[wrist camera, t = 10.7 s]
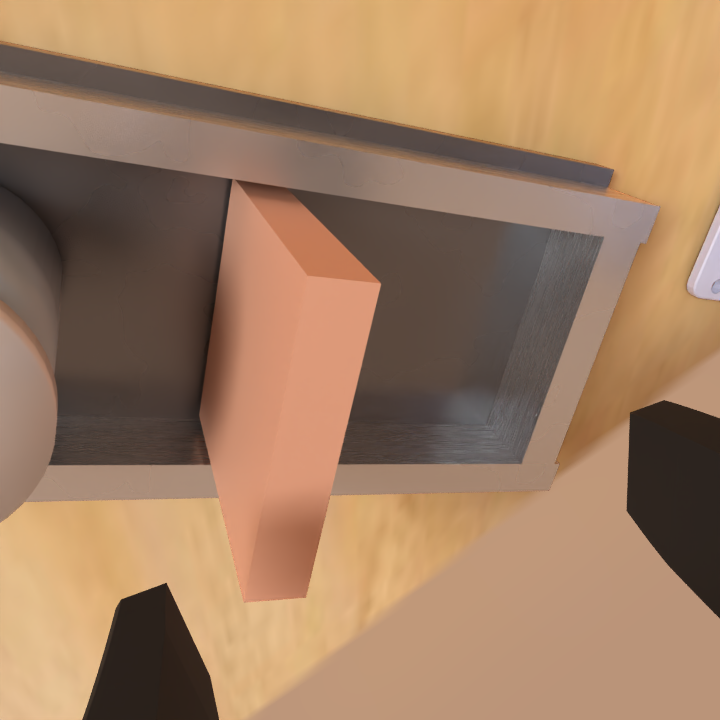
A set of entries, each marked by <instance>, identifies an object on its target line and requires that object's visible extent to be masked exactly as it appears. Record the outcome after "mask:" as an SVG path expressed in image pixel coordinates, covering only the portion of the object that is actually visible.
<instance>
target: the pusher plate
mask: <svg viewBox="0 0 720 720" xmlns="http://www.w3.org/2000/svg"><path fill="white" fill-rule="evenodd" d="M380 287H381V283H380V282H379V281H378V280H377V279H376V278H375V277H374V276H373V275H372V274H371V273H370V272H369V271H368V270H367V269H366V268H365V267H364V266H363V265H362V264H361V263H360V262H359V261H358V260H357V259H356V258H355V257H354V256H353V255H352V254H351V253H350V252H349V251H348V249H347V248H346V247H345V246H344V245H343V244H342V243H341V242H340V241H339V240H338V239H337V238H336V237H335V236H334V235H333V234H332V233H331V232H330V231H329V230H328V229H327V228H326V227H325V226H324V225H323V224H322V223H321V222H320V221H319V220H318V219H317V218H316V217H315V216H314V215H313V214H312V213H311V212H310V211H309V210H308V209H307V208H306V207H305V206H304V205H303V204H302V203H301V202H300V201H299V200H298V199H297V198H296V197H295V196H294V195H293V194H292V193H291V192H290V191H289V190H288V189H287V188H286V187H280V186H274V185H267V184H261V183H254V182H248V181H242V180H235V179H232V186H231V193H230V200H229V207H228V214H227V221H226V228H225V235H224V243H223V250H222V257H221V264H220V271H219V278H218V285H217V292H216V299H215V306H214V313H213V320H212V327H211V335H210V342H209V349H208V356H207V363H206V370H205V377H204V384H203V391H202V398H201V405H200V412H199V417H200V421H201V425H202V429H203V434H204V438H205V442H206V446H207V450H208V455H209V459H210V463H211V467H212V471H213V475H214V480H215V484H216V488H217V492H218V496H219V501H220V505H221V509H222V513H223V517H224V522H225V526H226V530H227V534H228V538H229V542H230V547H231V551H232V555H233V559H234V563H235V568H236V572H237V576H238V580H239V584H240V589H241V593H242V597H243V601H244V602H256V601H269V600H281V599H293V598H306V594H307V590H308V586H309V582H310V578H311V574H312V569H313V565H314V561H315V557H316V553H317V549H318V545H319V540H320V536H321V532H322V528H323V524H324V520H325V515H326V511H327V507H328V503H329V499H330V495H331V490H332V486H333V482H334V478H335V474H336V470H337V465H338V461H339V457H340V453H341V449H342V445H343V441H344V436H345V432H346V428H347V424H348V420H349V416H350V411H351V407H352V403H353V399H354V395H355V391H356V386H357V382H358V378H359V374H360V370H361V366H362V361H363V357H364V353H365V349H366V345H367V341H368V337H369V332H370V328H371V324H372V320H373V316H374V312H375V307H376V303H377V299H378V295H379V291H380Z"/></svg>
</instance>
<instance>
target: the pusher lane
mask: <svg viewBox="0 0 720 720" xmlns="http://www.w3.org/2000/svg"><path fill="white" fill-rule="evenodd" d="M613 171H614V170H613V169H610V168H607V167H604V166H601V165H598V164H594V163H589V162H584V161H579V160H575V159H570V158H565V157H560V156H555V155H550V154H546V153H541V152H536V151H531V150H526V149H521V148H516V147H512V146H507V145H502V144H497V143H492V142H487V141H483V140H478V139H473V138H468V137H463V136H458V135H454V134H449V133H444V132H439V131H434V130H429V129H424V128H420V127H415V126H410V125H405V124H400V123H395V122H391V121H386V120H381V119H376V118H371V117H366V116H361V115H357V114H352V113H347V112H342V111H337V110H332V109H328V108H323V107H318V106H313V105H308V104H303V103H299V102H294V101H289V100H284V99H279V98H274V97H269V96H265V95H260V94H255V93H250V92H245V91H240V90H236V89H231V88H226V87H221V86H216V85H211V84H206V83H202V82H197V81H192V80H187V79H182V78H177V77H173V76H168V75H163V74H158V73H153V72H148V71H144V70H139V69H134V68H129V67H124V66H119V65H114V64H110V63H105V62H100V61H95V60H90V59H85V58H81V57H76V56H71V55H66V54H61V53H56V52H51V51H47V50H42V49H37V48H32V47H27V46H22V45H18V44H13V43H8V42H3V41H0V186H2V187H4V188H6V189H7V190H9V191H10V192H12V193H13V194H14V195H16V196H17V197H19V198H20V199H21V200H22V201H23V202H25V203H26V204H27V205H28V206H29V207H30V208H31V209H32V210H33V211H34V212H35V213H36V214H37V215H38V216H39V217H40V219H41V220H42V221H43V223H44V224H45V226H46V227H47V228H48V230H49V231H50V233H51V235H52V237H53V239H54V241H55V243H56V245H57V248H58V251H59V254H60V257H61V262H62V267H63V290H62V301H61V311H60V321H59V332H58V342H57V352H56V363H55V373H54V377H55V381H56V385H57V395H58V412H57V424H56V435H55V445H54V448H53V452H52V456H51V459H50V462H49V464H48V467H47V469H46V471H45V473H44V475H43V477H42V479H41V480H40V482H39V484H38V485H37V487H36V488H35V490H34V491H33V492H32V494H31V495H30V496H29V497H28V498H27V499H26V500H25V502H42V501H89V500H136V499H183V498H219V496H218V492H217V488H216V484H215V480H214V475H213V471H212V467H211V463H210V459H209V455H208V450H207V446H206V442H205V438H204V434H203V429H202V425H201V421H200V417H199V412H200V405H201V398H202V391H203V384H204V377H205V370H206V363H207V356H208V349H209V342H210V335H211V327H212V320H213V313H214V306H215V299H216V292H217V285H218V278H219V271H220V264H221V257H222V250H223V243H224V235H225V228H226V221H227V214H228V207H229V200H230V193H231V186H232V179H235V180H242V181H248V182H254V183H261V184H267V185H274V186H280V187H286V188H287V189H288V190H289V191H290V192H291V193H292V194H293V195H294V196H295V197H296V198H297V199H298V200H299V201H300V202H301V203H302V204H303V205H304V206H305V207H306V208H307V209H308V210H309V211H310V212H311V213H312V214H313V215H314V216H315V217H316V218H317V219H318V220H319V221H320V222H321V223H322V224H323V225H324V226H325V227H326V228H327V229H328V230H329V231H330V232H331V233H332V234H333V235H334V236H335V237H336V238H337V239H338V240H339V241H340V242H341V243H342V244H343V245H344V246H345V247H346V248H347V249H348V251H349V252H350V253H351V254H352V255H353V256H354V257H355V258H356V259H357V260H358V261H359V262H360V263H361V264H362V265H363V266H364V267H365V268H366V269H367V270H368V271H369V272H370V273H371V274H372V275H373V276H374V277H375V278H376V279H377V280H378V281H379V282H380V283H381V287H380V291H379V295H378V299H377V303H376V307H375V312H374V316H373V320H372V324H371V328H370V332H369V337H368V341H367V345H366V349H365V353H364V357H363V361H362V366H361V370H360V374H359V378H358V382H357V386H356V391H355V395H354V399H353V403H352V407H351V411H350V416H349V420H348V424H347V428H346V432H345V436H344V441H343V445H342V449H341V453H340V457H339V461H338V465H337V470H336V474H335V478H334V482H333V486H332V490H331V495H371V494H418V493H465V492H512V491H549V490H550V488H551V485H552V482H553V480H554V477H555V475H556V472H557V470H558V467H559V465H560V464H559V463H558V462H557V461H556V459H557V456H558V453H559V451H560V448H561V446H562V443H563V441H564V438H565V435H566V433H567V430H568V428H569V425H570V422H571V420H572V417H573V415H574V412H575V410H576V407H577V404H578V402H579V399H580V397H581V394H582V392H583V389H584V386H585V384H586V381H587V379H588V376H589V373H590V371H591V368H592V366H593V363H594V361H595V358H596V355H597V353H598V350H599V348H600V345H601V343H602V340H603V337H604V335H605V332H606V330H607V327H608V325H609V322H610V319H611V317H612V314H613V312H614V309H615V306H616V304H617V301H618V299H619V296H620V294H621V291H622V288H623V286H624V283H625V281H626V278H627V276H628V273H629V270H630V268H631V265H632V263H633V260H634V257H635V255H636V252H637V250H638V247H639V245H640V243H645V244H646V242H647V240H648V237H649V235H650V232H651V230H652V227H653V224H654V222H655V219H656V217H657V214H658V212H659V209H660V206H657V205H654V204H652V203H649V202H646V201H644V200H641V199H638V198H636V197H633V196H630V195H627V194H625V193H622V192H619V191H617V190H614V189H611V188H608V185H609V183H610V180H611V177H612V174H613Z"/></svg>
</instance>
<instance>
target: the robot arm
mask: <svg viewBox="0 0 720 720" xmlns="http://www.w3.org/2000/svg"><path fill="white" fill-rule="evenodd" d="M714 282H715V283H714ZM713 283H714V285H713ZM712 285H713V286H712ZM687 290H688V292H689V293H690V294H691V295H693V296H695V297H698V298H701V299H709V300H717V301H720V206H719V209H718V211H717V213H716V216H715V218H714V220H713V223H712V225H711V227H710V230H709V232H708V235H707V237H706V239H705V242H704V244H703V246H702V249H701V251H700V253H699V256H698V258H697V260H696V263H695V265H694V267H693V270H692V272H691V274H690V277H689V279H688V283H687ZM627 512H628V513H629V515H630V516H631V517H632V519H633V520H634V521H635V523H636V524H637V525H638V527H639V528H640V530H641V531H642V532H643V534H644V535H645V536H646V538H647V539H648V540H649V542H650V543H651V544H652V545H653V547H654V548H655V549H656V551H657V552H658V553H659V554H660V556H661V557H662V558H663V559H664V560H665V562H666V563H667V564H668V565H669V567H670V568H671V569H672V570H673V571H674V572H675V573H676V574H677V575H678V576H679V577H680V578H681V579H682V580H683V581H684V582H685V583H686V584H687V585H688V586H689V587H690V588H691V589H692V590H693V591H694V593H695V594H696V595H697V596H698V597H699V598H700V599H701V600H702V601H703V602H704V603H705V604H706V605H707V606H708V607H709V608H710V609H711V610H712V611H713V612H714V613H715V614H716V615H717V616H718V617H719V618H720V418H717V417H714V416H711V415H708V414H705V413H703V412H700V411H697V410H694V409H691V408H688V407H684V406H682V405H678V404H675V403H672V402H668V401H665V400H663V401H661V402H658V403H655V404H653V405H650V406H647V407H644V408H642V409H639V410H636V411H633V412H631V413H630V430H629V459H628V488H627ZM82 720H219V717H218V712H217V707H216V702H215V698H214V693H213V688H212V683H211V679H210V675H209V673H208V671H207V669H206V667H205V665H204V662H203V660H202V658H201V656H200V654H199V652H198V650H197V647H196V645H195V643H194V641H193V639H192V637H191V634H190V632H189V630H188V628H187V626H186V624H185V622H184V619H183V617H182V615H181V613H180V611H179V609H178V607H177V604H176V602H175V600H174V598H173V596H172V594H171V592H170V589H169V587H168V585H167V583H165V584H162V585H160V586H157V587H154V588H151V589H149V590H146V591H143V592H141V593H138V594H135V595H132V596H130V597H127V598H124V599H121V601H120V603H119V604H118V606H117V607H116V610H115V613H114V617H113V621H112V625H111V629H110V632H109V636H108V639H107V643H106V647H105V650H104V654H103V657H102V660H101V664H100V667H99V670H98V674H97V677H96V680H95V683H94V686H93V689H92V693H91V696H90V699H89V702H88V705H87V708H86V711H85V714H84V717H83V719H82Z"/></svg>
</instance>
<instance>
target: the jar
mask: <svg viewBox="0 0 720 720" xmlns="http://www.w3.org/2000/svg"><path fill="white" fill-rule="evenodd" d="M62 290H63V267H62V262H61V257H60V254H59V251H58V248H57V245H56V243H55V241H54V239H53V237H52V235H51V233H50V231H49V230H48V228H47V227H46V226H45V224H44V223H43V221H42V220H41V219H40V217H39V216H38V215H37V214H36V213H35V212H34V211H33V210H32V209H31V208H30V207H29V206H28V205H27V204H26V203H25V202H23V201H22V200H21V199H20V198H19V197H17V196H16V195H14V194H13V193H12V192H10V191H9V190H7V189H6V188H4V187H2V186H0V522H2V521H3V520H5V519H6V518H7V517H9V516H10V515H11V514H12V513H13V512H14V511H15V510H16V509H18V508H19V507H20V506H21V505H22V504H23V503H24V502H25V500H26V499H27V498H28V497H29V496H30V495H31V494H32V492H33V491H34V490H35V488H36V487H37V485H38V484H39V482H40V480H41V479H42V477H43V475H44V473H45V471H46V469H47V467H48V464H49V462H50V459H51V456H52V452H53V448H54V445H55V435H56V424H57V412H58V395H57V385H56V381H55V377H54V373H55V363H56V352H57V342H58V332H59V321H60V311H61V301H62Z"/></svg>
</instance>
